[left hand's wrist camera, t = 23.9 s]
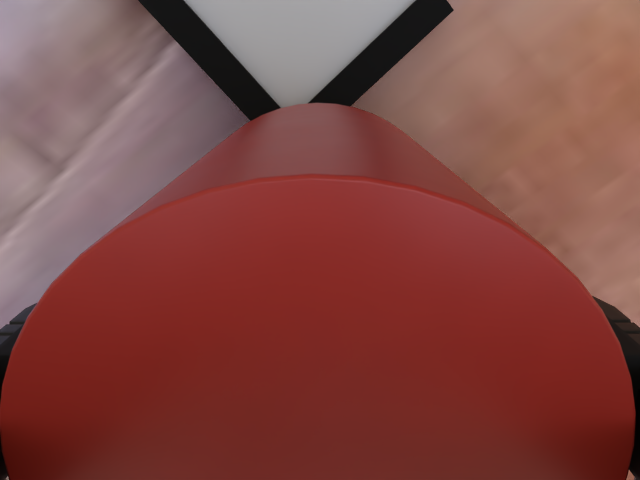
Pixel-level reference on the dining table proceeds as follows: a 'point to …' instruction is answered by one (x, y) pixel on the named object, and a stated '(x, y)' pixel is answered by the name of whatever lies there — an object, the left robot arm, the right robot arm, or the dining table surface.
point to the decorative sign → (296, 45)
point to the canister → (317, 329)
